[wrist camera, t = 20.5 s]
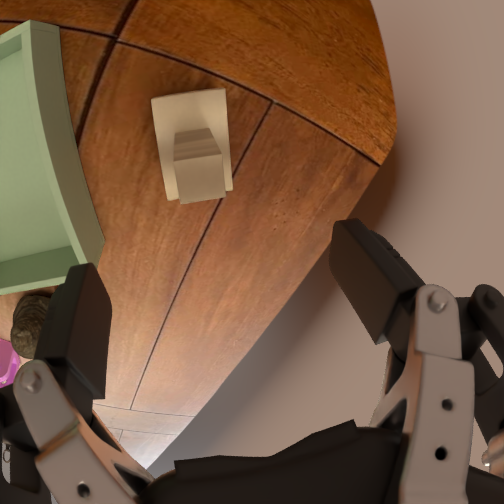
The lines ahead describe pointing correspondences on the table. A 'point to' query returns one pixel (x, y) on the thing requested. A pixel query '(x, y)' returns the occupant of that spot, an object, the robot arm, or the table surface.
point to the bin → (40, 167)
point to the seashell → (28, 324)
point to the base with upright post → (193, 144)
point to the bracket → (8, 363)
